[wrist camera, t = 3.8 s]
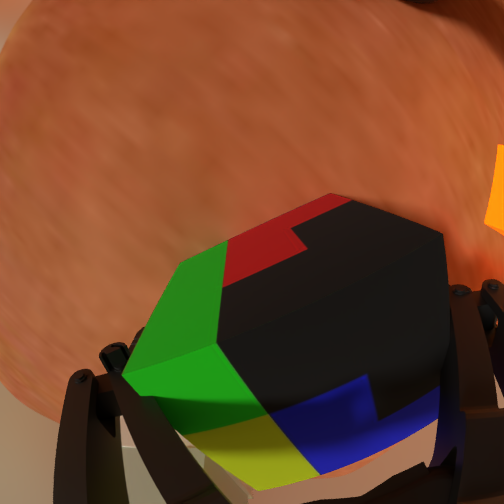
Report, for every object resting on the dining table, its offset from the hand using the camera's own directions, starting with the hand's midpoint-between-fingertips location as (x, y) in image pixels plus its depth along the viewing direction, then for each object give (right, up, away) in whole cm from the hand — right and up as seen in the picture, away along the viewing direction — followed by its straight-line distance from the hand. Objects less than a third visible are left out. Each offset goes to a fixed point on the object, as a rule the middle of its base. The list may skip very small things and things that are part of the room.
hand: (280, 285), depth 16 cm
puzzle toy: (+1, -1, +2) cm, 2 cm away
